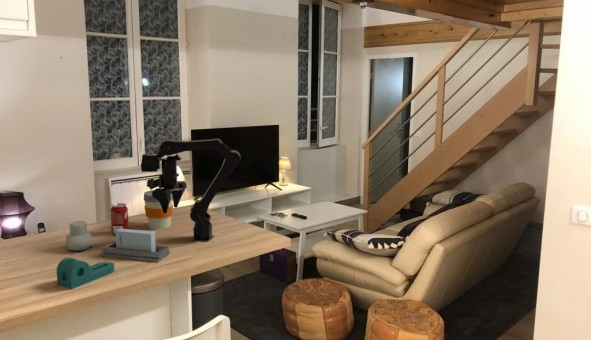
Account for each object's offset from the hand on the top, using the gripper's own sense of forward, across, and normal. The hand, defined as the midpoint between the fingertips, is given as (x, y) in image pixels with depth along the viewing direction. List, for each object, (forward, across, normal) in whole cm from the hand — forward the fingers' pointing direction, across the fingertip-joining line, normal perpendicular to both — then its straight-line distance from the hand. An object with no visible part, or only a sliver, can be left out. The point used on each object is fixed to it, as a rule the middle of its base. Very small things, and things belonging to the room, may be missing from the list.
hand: (170, 210), depth 195 cm
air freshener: (+12, +19, -28) cm, 36 cm away
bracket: (+12, +42, -8) cm, 44 cm away
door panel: (+11, +20, -4) cm, 23 cm away
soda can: (+12, -2, -24) cm, 27 cm away
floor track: (+12, +20, -4) cm, 23 cm away
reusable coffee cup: (+12, -15, -13) cm, 23 cm away
